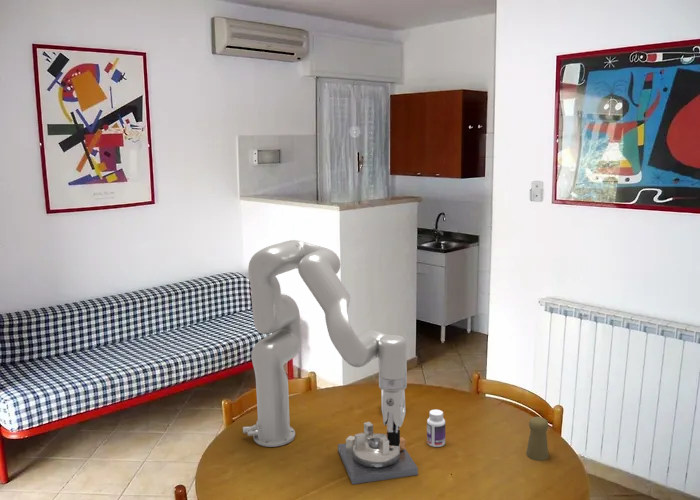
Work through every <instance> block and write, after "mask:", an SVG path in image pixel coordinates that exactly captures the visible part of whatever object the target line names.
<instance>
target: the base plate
mask: <svg viewBox="0 0 700 500" xmlns="http://www.w3.org/2000/svg"><path fill="white" fill-rule="evenodd" d="M354 441H355V435H348V437H346V438H345V443H339V444H337V451H338V454H339V456H340V459H341V461H342V463H343V465H344V468H345V470H346V472H347V475H348V477H349V480H350V482H351V484H352V485H358V484H359V485H360V484H365V483H372V482H379V481H386V480H391V479H399V478H406V477H412V476H418V475H419V468H418V466H417V464H416V463H415V461H414V460H413V458H412V456H411V455H410V454H409V452H408V451H407V449H406V448H405V450H401V451H400V457H399V459H398V460H397V461H396V462H395V463H393V464H391V465H389V466H385V467H369V466H365V465H362V464H360V463H358V462H357V461H356V460H355V459H354V457H353V442H354Z"/></svg>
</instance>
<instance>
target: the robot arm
mask: <svg viewBox="0 0 700 500" xmlns="http://www.w3.org/2000/svg"><path fill="white" fill-rule="evenodd" d="M247 268H248V270H247V271H248V278H249V284H250V292H251V306H252V318H253V324H254V328H255V329H256V331H257V332H258V333H260V334H262V335H268V336H265V337H264V338H262V339H260V340H259V341H258V342H256V344H255V345H254V346H253V347H252V350H251V361H252V366H253V371H254V376H255V377H254V378H255V389H256V390H255V391H256V409H257V420H256V421H255V422H256V424H253V425H251V426H249V425H248V426H242V433H243V434H247V437H250V436H252V437H253V441H254V442H255V443H256V444H257V445H259V446H262V447H266V448H267V447H268V448H272V447H273V448H275V447H276V448H277V447H281V446H284V445H287V444H290V442H292V441H293V440H294V439H295V437H296V431H295V429H294V428H293V427H292V426H290V424H291V423H290V401H289V399H290V398H289V379H288V376H287V375H288V374H287V373H286V371H285V367H284V365H286V363H288V362H289V361H291V360H292V359H293V358H295V357H296V356H297V355H298V354H299V353H300V350H301V348H302V332H301V330H302V329H301V318H300V317H301V316H300V315H301V314H300V310H299V306H298V304H297V302H296V301H295V300H294V299H293V298H292V297H291V296H290V295H287V294H282V293H281V292H282V291H281V289H282V288H281V285H280V284H281V283H280V281H279V279H278V277H277V276H278V275H282V274H284V273H287V272H290V271H293V270H295V269H297V271H298V274H299V276H300V278H301V279H302V281H303V283H304V284H305V285H306V287H307V288H308V289H309V291H310V293H311V294H312V295H313V297H314V298H315V300H316V301H317V303H318V305H319V306H320V308H321V309H322V311H323V313H324V318H325V325H326V328H327V333H328V336H329V339H330V341H331V343H332V345H333V346H334V348H335V350H336V351H337V352H338V354H339V355H340V356H341V358H342V359H343V360H344V362H346V363H347V364H348V365H349V366H351V367H353V368H362V367H365V366H366V365H368V364H369V363H370V362H371V361H372V360H375V359H377V358H378V387H379V389H380V390H381V389H382V390H383V415H382V422H383V426H384V427H385V426H387V427H386V435H387V439H388V440H389V445H390V446H399V444H400V437H401V430H400V428H401V427H402V426H403V423H404V420H405V417H406V413H407V411H406V393H405V392H406V391H405V390H406V389H407V385H408V373H407V371H408V370H407V365H408V364H407V363H408V362H407V358H408V357H407V356H408V355H407V352H408V350H407V340H406V339H405V338H404V336H402V335H398V334H386V333H383V332H380V331H378V330H373V329H367V330H365V331H362V332H361V333H359V334H358V335H357V333H356V332H355V331H354V329H353V327H352V325H351V323H350V320H349V319H350V318H349V306H350V302H351V294H350V293H349V291H348V290H347V288H346V287H345V284H343V282H342V281H341V279H340V278H339V276H338V275H337V274H338V273H339V272H340V269H341V260H340V257H339V256H338V255H337V253H335V251H333V250H331V249H329V248H326V247H323V246H320V245H317V244H312V243H309V242H305V241H301V240H297V239H295V240H293V239H291V240H287V241H283V242H280V243H279V242H278V243H274V244H272V245H268V246H266V247H264V248H261V249H260V250H259V251H257V252H255V253H254V254H253V256H251V258H250V260H249V263H248V267H247ZM387 429H388V431H387Z"/></svg>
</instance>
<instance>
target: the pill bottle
mask: <svg viewBox="0 0 700 500" xmlns="http://www.w3.org/2000/svg"><path fill="white" fill-rule="evenodd" d="M426 443H427V445H429V446H430V447H433V448H440V447H443V446H445V445H446V419H445V418H444V411H442V410H440V409H431V410H429V417H428V418H427V420H426Z"/></svg>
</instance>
